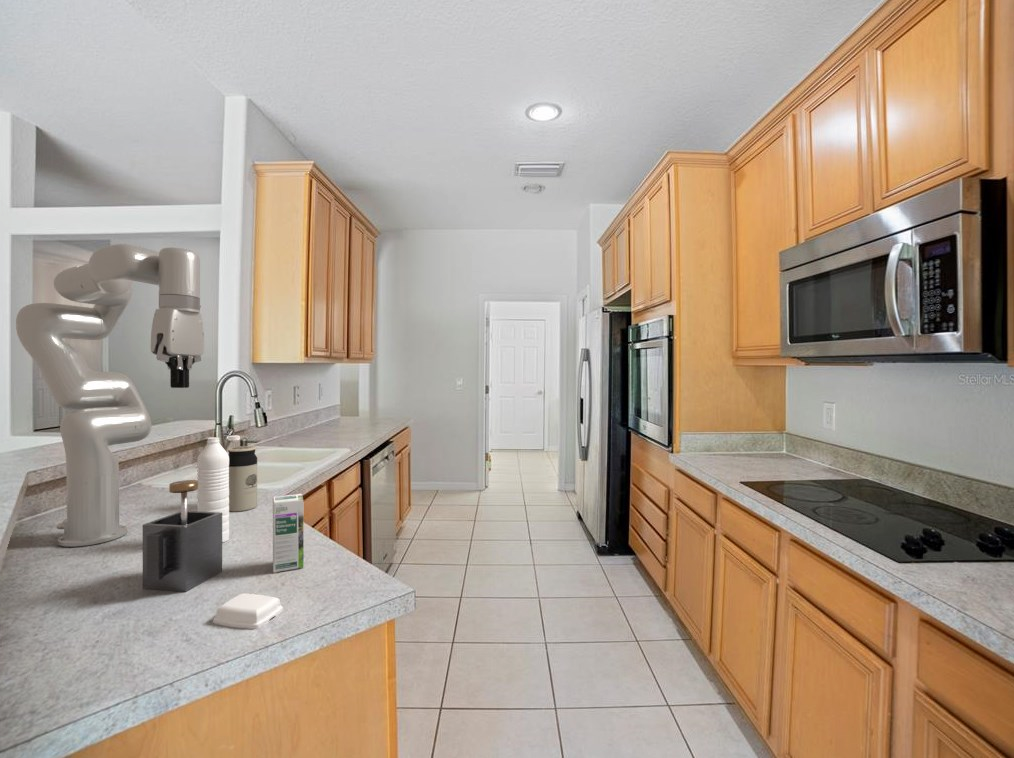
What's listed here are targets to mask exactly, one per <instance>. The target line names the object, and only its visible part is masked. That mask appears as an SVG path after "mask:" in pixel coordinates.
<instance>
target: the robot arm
mask: <svg viewBox="0 0 1014 758" xmlns="http://www.w3.org/2000/svg"><path fill="white" fill-rule="evenodd" d="M200 259H201V258H200V256H199V255H198V253H197V252H195V251H193V250H190V249H187V248H181V247H164V248H162V249H160V250H159V251H157V250H153V249H148V248H144V247H141V246H136V245H131V244H126V243H125V244H123V243H117V244H110V245H107V246H104V247H100V248H97V249H96V250H95V251H94V252H93V253H92V254H91V255H90V257H89V260H88V262H87V263H85V264H80V265H76V266H72V267H69V268H65V269H63V270H61V271H60V272H59V273H57V274H56V275H55V277H54V279H53V286H54V289H55V291H56V292H57V293H58V295H60V296H61V297H63V298H64V299H67V300H69V301H71V302H75V303H82V304H89V305H94V306H93V307H88V306H81V305H80V306H77V305H70V304H61V303H54V302H53V303H52V302H37V303H30V304H27V305H25V306H23V307H22V308H20V309H19V311H18V312H17V314H16V318H15V329H16V333H17V334H16V335H17V337H18V340H19V342H20V344H21V345H22V347H23V348H24V349H25V351H26V352H27V353H28V355H29V356H30V357H31V358H32V360H33V361H34V362H35V364H36V365H37V366H38V368H39V370H40V372H41V375H42V376H43V379H44V382H45V384H46V386H47V388H48V390H49V391H50V394H51V396H52V398H53V400H54V402H55V403H56V404H57V405H58V406H59V407H60V408H62V409H64V410H71V412H68V413H66V415H65V416H64V417H63V418H62V420H61V423H60V425H59V426H60V428H59V431H60V435H61V440H62V443H63V448H64V454H65V468H66V476H65V477H66V518H65V519H64V520H63V521H62V522H60V523H58V524H57V525H56V529H57V530H63V534H62V535H61V536H58V538H57V545H58V546H60V547H66V548H67V547H69V548H72V547H74V548H75V547H84V546H85V547H86V546H92V545H98V544H102V543H105V542H111V541H114V540H116V539H118V538H121V537H123V536H125V535H126V534H127V533H128V526H126V525H123V524H120V464H119V460H118V458H117V457H116V456H115V454H114V453H113V452H112V451H111V449H110V448H109V446H113V445H114V446H116V445H122V444H129V443H135V442H139V441H142V440H144V439H146V438H148V436H149V435H150V433H151V431H152V420H151V416H150V414H149V411H148V410H147V407H146V405H145V403H144V401H143V398H141V397H142V396H140V393H139V391H138V390H137V388H136V385H135V384H134V382H133V380H131V378H129V377H128V376H127V375H125V374H124V373H121V372H115V371H97V370H93V369H91V368H90V367H89V365H88V363H87V361H86V359H85V357H84V356H83V355H82V353H80V352H79V350H78V349H76V348H75V347H74V346H73V345H71V344H69V343H67V342H66V341H65V340H63V339H70V340H71V339H73V340H88V341H99V340H100V341H101V340H103V339H105V338H108V336H109V335H110V334H111V333H112V332H113V331H114V329H115V327H116V325H117V324H118V322H119V320H120V318H121V317H122V316H123V314H124V312H125V311H126V309H127V307H128V306H129V303H130V301H131V298H132V293H133V292H132V291H133V290H132V281H133V282H138V283H139V282H140V283H142V284H143V283H144V284H150V285H156V286H158V308H155V310H154V315H153V317H152V323H151V330H150V331H151V332H150V352H151V353H152V354H153V355H155V356H156V360H157V361H160V362H163V363H165V364H166V366H167V369H168V370H170V376H169V377H170V380H169V381H170V382H169V383H170V385H169V386H170V388H172V389H186V388H187V389H188V388H189V387H190V371H191V370H192V368H193V365H194V364H195V363H198V362H201V361H202V357H201V356H202V355H203V354H204V353H205V352H204V351H205V332H204V330H205V329H204V324H203V319H202V318H203V317H202V314H201V307H202V306H201V260H200Z"/></svg>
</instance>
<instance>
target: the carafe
mask: <svg viewBox="0 0 1014 758" xmlns="http://www.w3.org/2000/svg"><path fill="white" fill-rule="evenodd" d="M222 572H223V542H222V513H220V512H201V511H197V510H187V525H186V526H185V525H181V510H180V511H178V512H175V513H172V514H168V515H167V516H163V517H161V518H158V519H154V520H151V521H149V522H146V523H144V524H142V589H143V590H156V591H158V590H159V591H170V592H181V593H182V592H183V593H187V592H189V591H191V590H192V589H194V588H196V587H197V586H199V585H201V584H203V583H204V582H206V581H209V580H210V579H211V578H213V577H215V576H217V575H218V574H220V573H222Z"/></svg>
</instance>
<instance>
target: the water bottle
mask: <svg viewBox="0 0 1014 758" xmlns="http://www.w3.org/2000/svg"><path fill="white" fill-rule="evenodd" d="M240 439H241V435H235V434H234V435H228V436H227V440H228V441H232V442H233V441H240ZM196 459H197V460H196V466H197V471H196V472H197V481H198V489H197V490H196V493H197V494H196V498H197V502H196V503H197V505H196V506H197V510H196V511H201V512H220V513H222V543H225V542H227V541H228V540H229V539H230V511H229V497H228V496H229V452H227V451H226V449H225V448H224V447H223V446H222V445H221V443H220V437H216V436H214V437H207V440H206V445H205V446H204V447H203V449H202V450H201V451H200V453H199V455H198V456H197V458H196Z"/></svg>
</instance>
